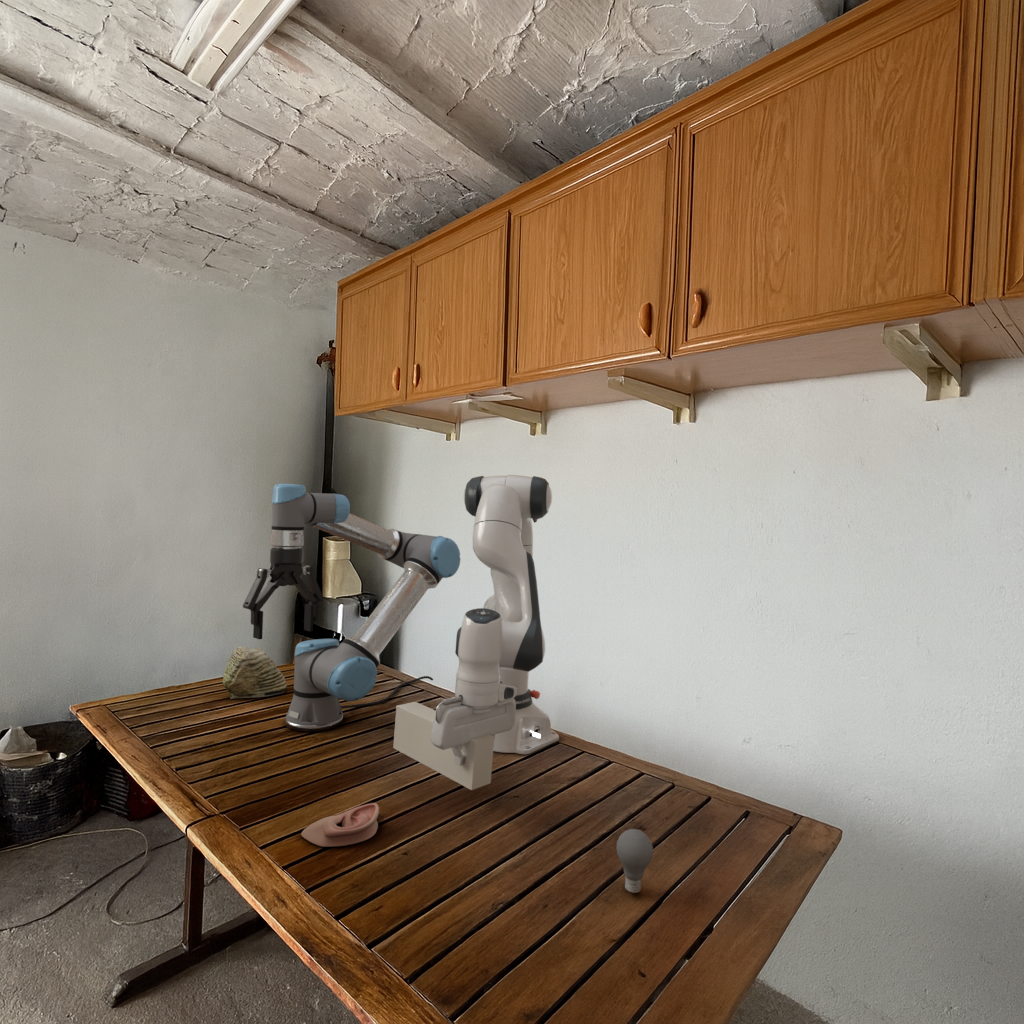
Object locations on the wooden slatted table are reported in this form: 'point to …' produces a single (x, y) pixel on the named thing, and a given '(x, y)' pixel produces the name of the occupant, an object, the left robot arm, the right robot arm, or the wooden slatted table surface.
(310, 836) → the anatomical model
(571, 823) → the wooden slatted table surface
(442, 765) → the bar
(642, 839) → the light bulb
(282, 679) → the fossil
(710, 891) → the wooden slatted table surface
